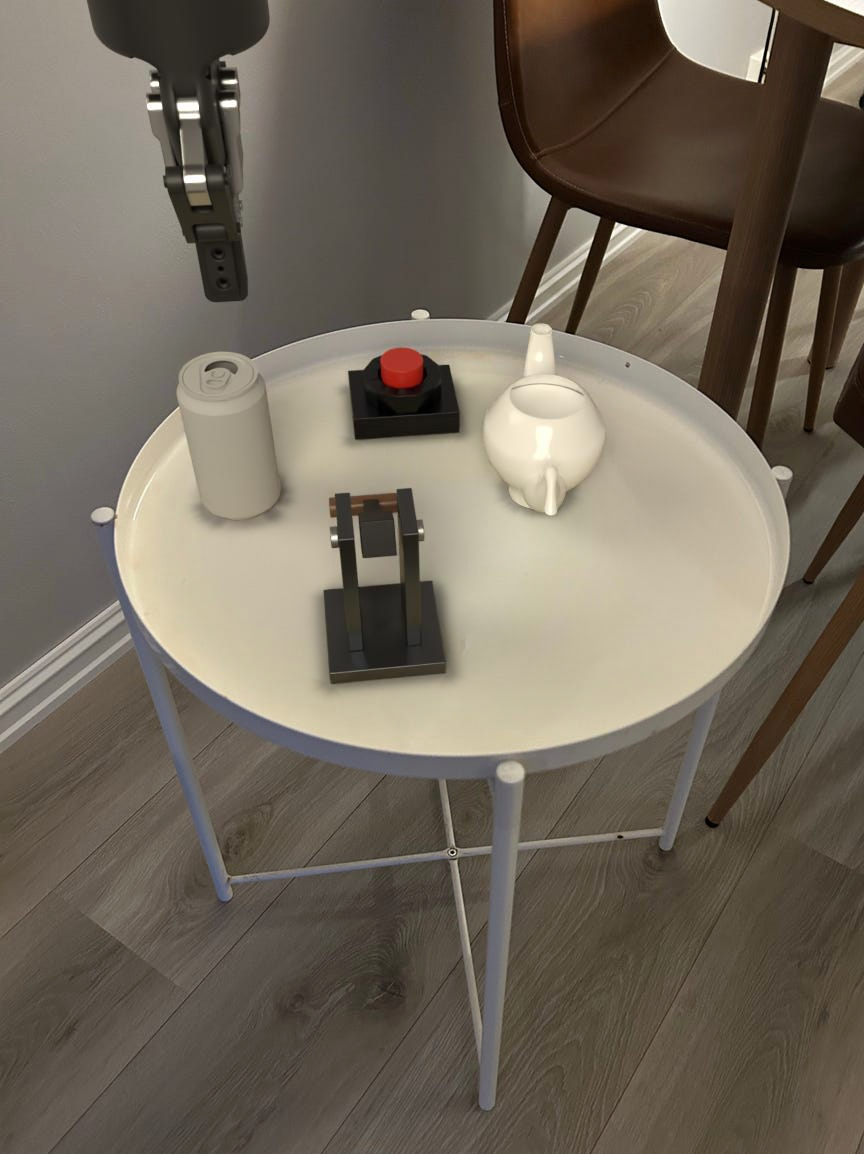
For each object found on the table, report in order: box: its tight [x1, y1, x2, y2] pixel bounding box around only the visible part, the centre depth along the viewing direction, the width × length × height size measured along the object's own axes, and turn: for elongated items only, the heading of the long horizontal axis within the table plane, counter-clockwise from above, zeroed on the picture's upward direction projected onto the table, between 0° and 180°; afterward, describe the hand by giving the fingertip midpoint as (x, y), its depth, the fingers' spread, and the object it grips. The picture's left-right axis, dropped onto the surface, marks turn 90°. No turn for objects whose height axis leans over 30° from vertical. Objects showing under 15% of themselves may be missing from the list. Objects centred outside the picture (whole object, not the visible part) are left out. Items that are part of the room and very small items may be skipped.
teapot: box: [481, 323, 607, 516], centre depth 84 cm, size 10×20×9 cm, turn 0°
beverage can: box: [176, 351, 282, 521], centre depth 81 cm, size 6×6×12 cm
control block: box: [347, 353, 461, 441], centre depth 93 cm, size 9×7×4 cm
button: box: [380, 347, 423, 388], centre depth 91 cm, size 4×4×2 cm
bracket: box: [322, 487, 447, 685], centre depth 72 cm, size 8×8×12 cm
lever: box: [328, 492, 398, 559], centre depth 73 cm, size 11×6×2 cm, turn 8°
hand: (227, 294), depth 56 cm, fingers closed
